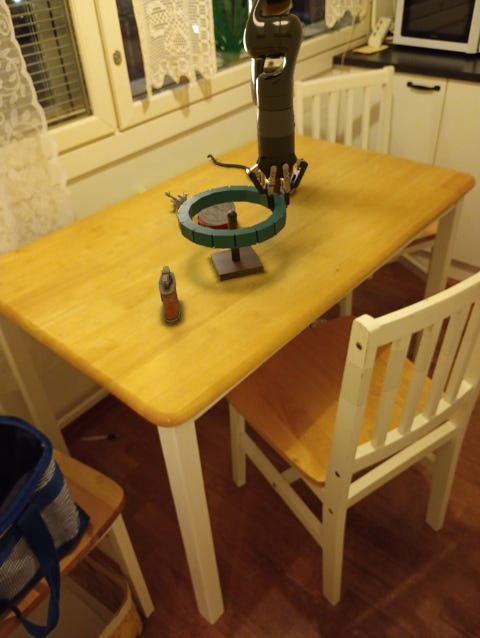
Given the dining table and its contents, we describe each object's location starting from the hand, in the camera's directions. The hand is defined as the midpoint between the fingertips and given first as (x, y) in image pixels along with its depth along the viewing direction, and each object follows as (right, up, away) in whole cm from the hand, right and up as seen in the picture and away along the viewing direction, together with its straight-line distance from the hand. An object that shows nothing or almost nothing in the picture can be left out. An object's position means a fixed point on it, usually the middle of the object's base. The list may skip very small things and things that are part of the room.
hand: (277, 207), depth 116 cm
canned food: (-14, -1, +21) cm, 26 cm away
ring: (-10, -3, -1) cm, 10 cm away
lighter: (-22, -23, -7) cm, 33 cm away
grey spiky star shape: (-25, +5, +30) cm, 40 cm away
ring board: (-9, -12, +6) cm, 16 cm away
